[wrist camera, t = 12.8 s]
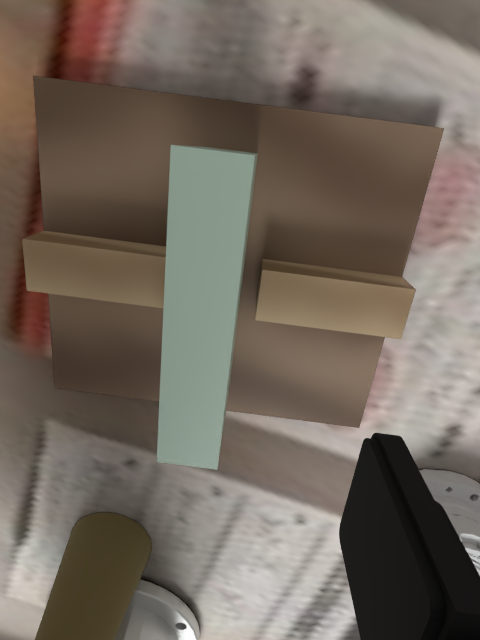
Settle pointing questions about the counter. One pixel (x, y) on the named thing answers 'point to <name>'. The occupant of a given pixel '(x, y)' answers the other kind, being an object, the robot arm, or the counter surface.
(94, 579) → the cork
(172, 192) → the sage plate
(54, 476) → the counter surface
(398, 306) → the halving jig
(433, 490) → the mechanical component
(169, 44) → the counter surface
